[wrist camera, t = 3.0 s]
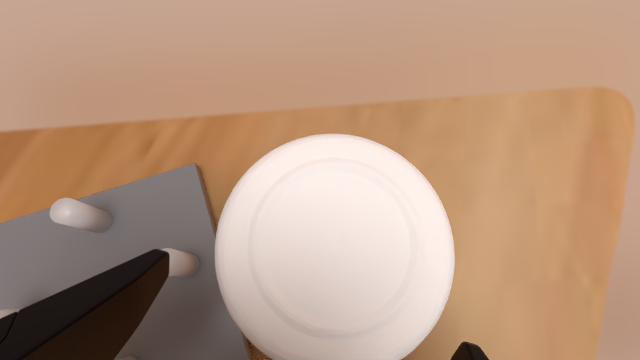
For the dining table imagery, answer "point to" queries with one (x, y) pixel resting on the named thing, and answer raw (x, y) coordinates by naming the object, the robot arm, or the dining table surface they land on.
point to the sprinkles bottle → (334, 252)
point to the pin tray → (125, 244)
